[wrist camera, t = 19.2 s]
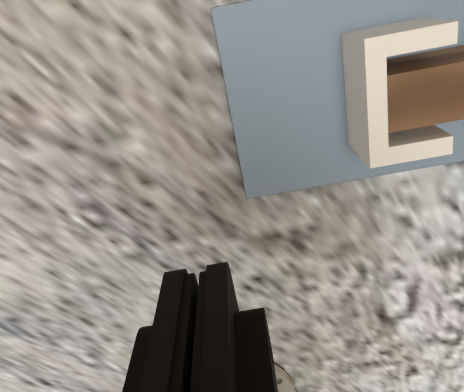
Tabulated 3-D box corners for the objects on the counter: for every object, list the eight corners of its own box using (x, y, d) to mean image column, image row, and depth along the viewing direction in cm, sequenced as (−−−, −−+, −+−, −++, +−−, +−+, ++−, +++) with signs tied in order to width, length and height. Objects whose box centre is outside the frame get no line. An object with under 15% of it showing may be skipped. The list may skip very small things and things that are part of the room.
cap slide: (418, 131, 31) (452, 153, 26) (348, 144, 31) (370, 168, 27) (419, 17, 28) (458, 21, 23) (341, 33, 28) (364, 39, 23)
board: (587, 133, 32) (598, 137, 32) (245, 193, 34) (246, 198, 33) (626, -76, 27) (640, -79, 26) (211, 8, 28) (210, 8, 27)
